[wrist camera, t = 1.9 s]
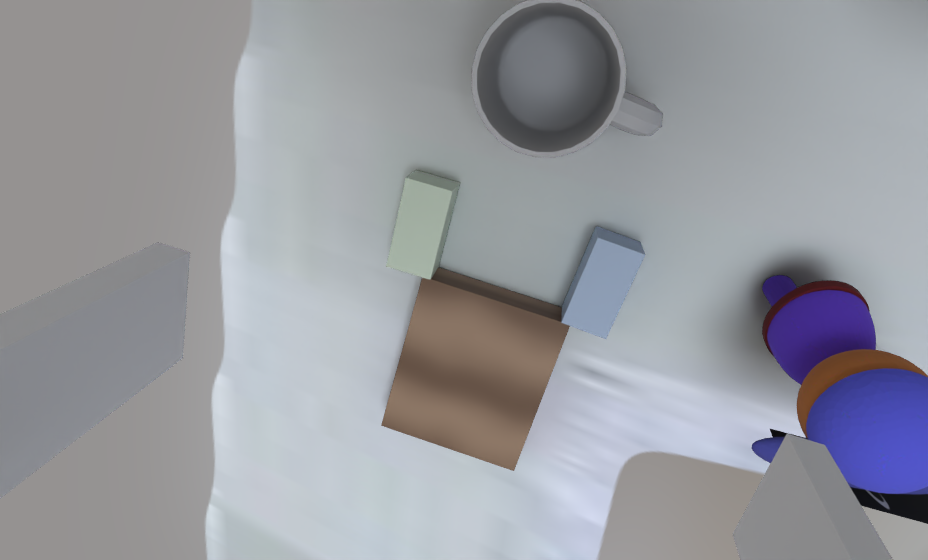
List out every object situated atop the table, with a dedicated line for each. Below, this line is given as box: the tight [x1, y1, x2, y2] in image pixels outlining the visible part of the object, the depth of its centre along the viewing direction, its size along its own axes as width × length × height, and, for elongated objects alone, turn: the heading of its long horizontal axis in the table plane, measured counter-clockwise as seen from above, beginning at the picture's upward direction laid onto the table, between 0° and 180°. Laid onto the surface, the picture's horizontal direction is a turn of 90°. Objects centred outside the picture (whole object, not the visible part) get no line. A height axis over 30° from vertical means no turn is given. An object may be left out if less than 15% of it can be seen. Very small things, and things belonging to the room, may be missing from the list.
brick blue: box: [561, 226, 645, 339], centre depth 40 cm, size 6×3×3 cm, turn 162°
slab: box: [381, 267, 570, 471], centre depth 43 cm, size 12×10×2 cm
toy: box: [752, 275, 928, 524], centre depth 33 cm, size 11×8×15 cm
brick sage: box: [386, 170, 460, 280], centre depth 40 cm, size 6×3×3 cm, turn 166°
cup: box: [472, 0, 663, 158], centre depth 33 cm, size 7×10×9 cm
